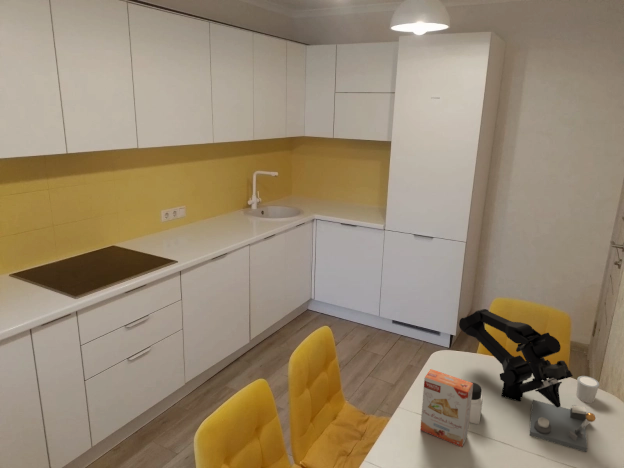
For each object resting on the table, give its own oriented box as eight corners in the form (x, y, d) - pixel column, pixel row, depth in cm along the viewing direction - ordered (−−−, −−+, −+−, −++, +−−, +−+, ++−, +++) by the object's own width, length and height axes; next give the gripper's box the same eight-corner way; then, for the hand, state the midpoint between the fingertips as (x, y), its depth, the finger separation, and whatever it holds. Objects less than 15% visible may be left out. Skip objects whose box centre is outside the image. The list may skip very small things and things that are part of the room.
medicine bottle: (481, 412, 158) (484, 382, 154) (479, 425, 152) (482, 394, 148) (459, 406, 161) (462, 377, 157) (456, 419, 155) (460, 389, 151)
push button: (537, 425, 146) (538, 422, 146) (537, 419, 149) (538, 416, 149) (548, 429, 145) (549, 425, 144) (548, 422, 148) (549, 419, 147)
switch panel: (529, 435, 147) (530, 427, 146) (532, 403, 162) (533, 395, 161) (587, 452, 140) (589, 444, 139) (584, 417, 155) (586, 409, 154)
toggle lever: (570, 431, 144) (586, 412, 138) (576, 428, 145) (591, 409, 139) (577, 438, 142) (593, 419, 136) (583, 436, 143) (599, 417, 137)
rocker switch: (572, 412, 152) (572, 409, 152) (572, 408, 154) (572, 405, 154) (586, 414, 150) (586, 411, 150) (585, 410, 152) (585, 407, 152)
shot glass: (599, 404, 161) (602, 388, 159) (578, 402, 162) (581, 385, 160) (591, 392, 167) (595, 376, 165) (571, 390, 169) (574, 374, 167)
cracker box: (419, 431, 149) (423, 376, 143) (426, 420, 154) (430, 367, 148) (462, 448, 142) (468, 392, 135) (467, 437, 146) (474, 381, 140)
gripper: (531, 361, 145) (556, 411, 138) (572, 348, 152) (597, 395, 145) (509, 369, 154) (531, 416, 148) (548, 356, 161) (571, 401, 155)
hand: (558, 407), depth 149 cm, fingers closed
